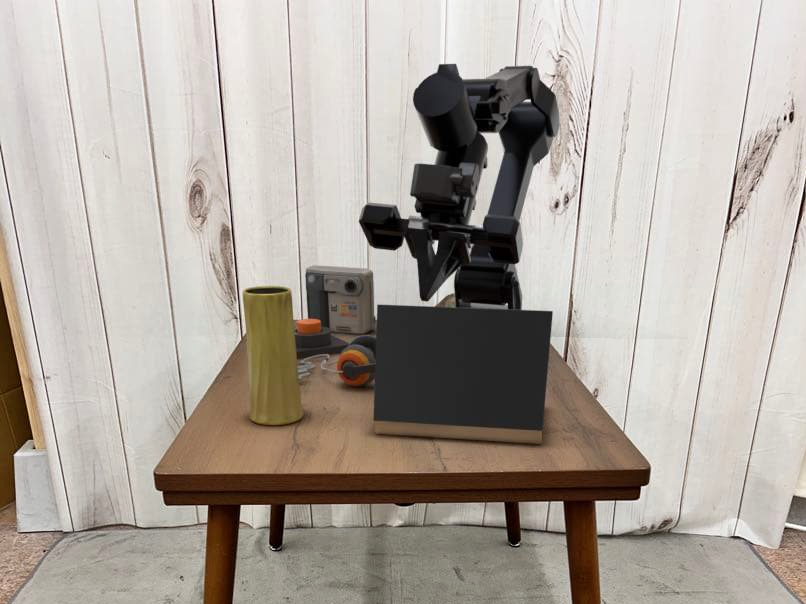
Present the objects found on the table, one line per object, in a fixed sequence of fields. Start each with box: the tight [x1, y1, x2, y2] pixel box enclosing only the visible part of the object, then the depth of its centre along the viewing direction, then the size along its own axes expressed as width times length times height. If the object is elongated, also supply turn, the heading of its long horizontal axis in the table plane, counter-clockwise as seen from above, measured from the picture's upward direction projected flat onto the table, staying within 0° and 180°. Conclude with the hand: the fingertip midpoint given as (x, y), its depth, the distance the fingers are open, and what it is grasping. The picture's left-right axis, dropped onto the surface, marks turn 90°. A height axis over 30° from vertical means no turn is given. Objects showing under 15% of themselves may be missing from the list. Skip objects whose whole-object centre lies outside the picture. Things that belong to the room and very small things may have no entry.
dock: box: [294, 326, 350, 360], centre depth 117 cm, size 10×8×3 cm
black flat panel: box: [372, 304, 554, 432], centre depth 81 cm, size 12×18×1 cm
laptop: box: [374, 421, 543, 445], centre depth 89 cm, size 12×18×2 cm, turn 80°
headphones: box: [297, 334, 376, 387], centre depth 103 cm, size 17×5×20 cm
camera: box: [304, 264, 377, 335], centre depth 128 cm, size 11×6×10 cm, turn 67°
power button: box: [295, 318, 321, 334], centre depth 116 cm, size 4×4×2 cm
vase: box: [242, 285, 304, 426], centre depth 87 cm, size 6×6×14 cm
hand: (423, 299), depth 90 cm, fingers closed
